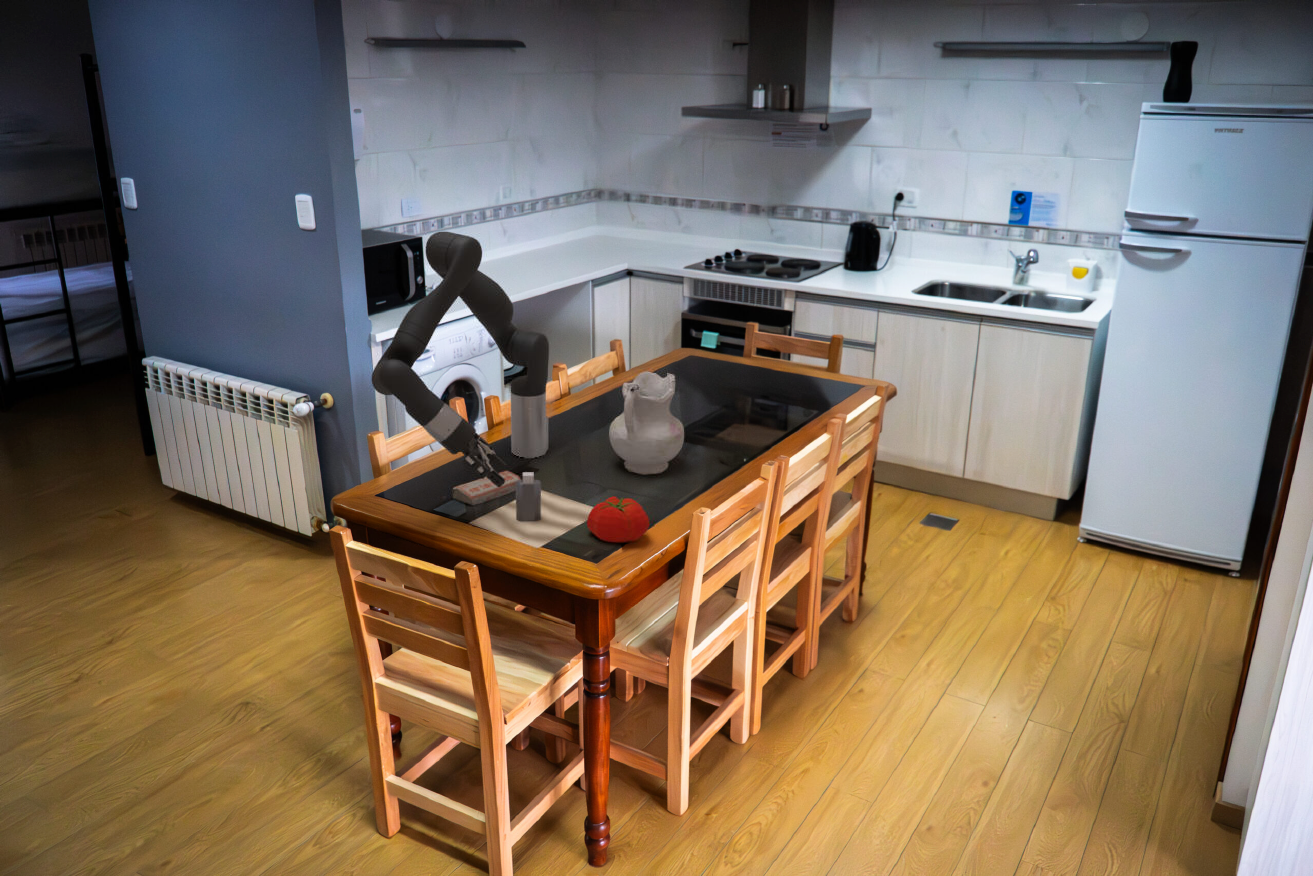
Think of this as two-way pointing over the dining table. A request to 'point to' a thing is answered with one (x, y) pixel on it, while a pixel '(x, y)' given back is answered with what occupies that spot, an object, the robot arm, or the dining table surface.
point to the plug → (528, 498)
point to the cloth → (553, 522)
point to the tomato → (618, 520)
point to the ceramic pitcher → (647, 425)
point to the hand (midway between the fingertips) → (503, 476)
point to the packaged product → (485, 489)
